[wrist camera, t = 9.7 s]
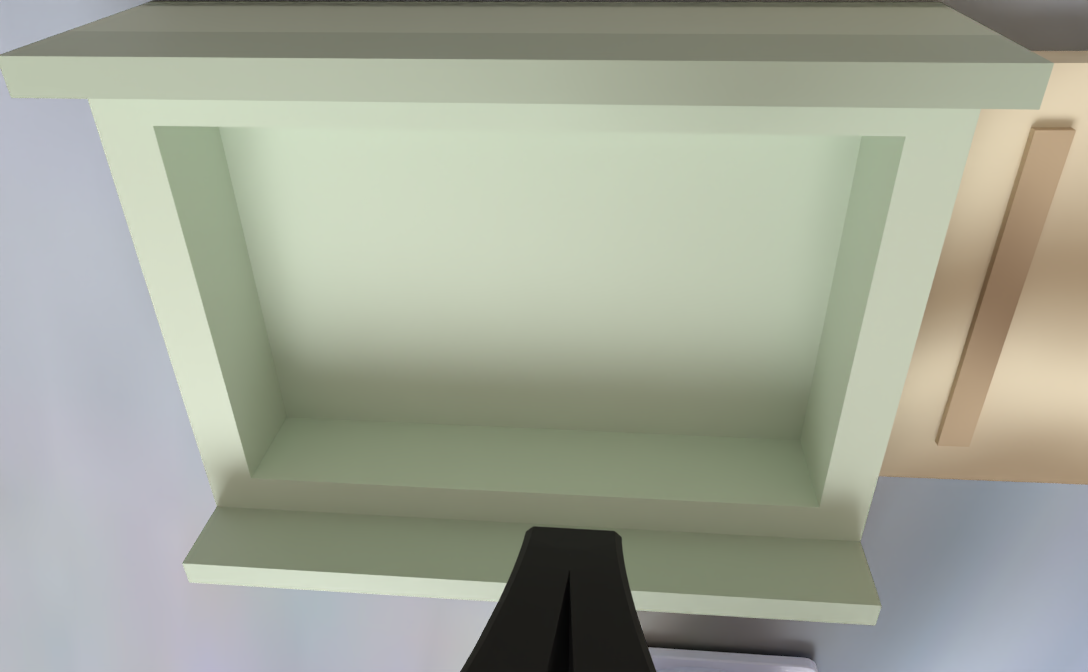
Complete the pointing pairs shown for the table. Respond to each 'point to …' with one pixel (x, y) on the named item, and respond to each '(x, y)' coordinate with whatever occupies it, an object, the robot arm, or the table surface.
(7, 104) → the table surface
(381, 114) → the green tray
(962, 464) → the cover plate
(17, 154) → the table surface
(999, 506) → the table surface
